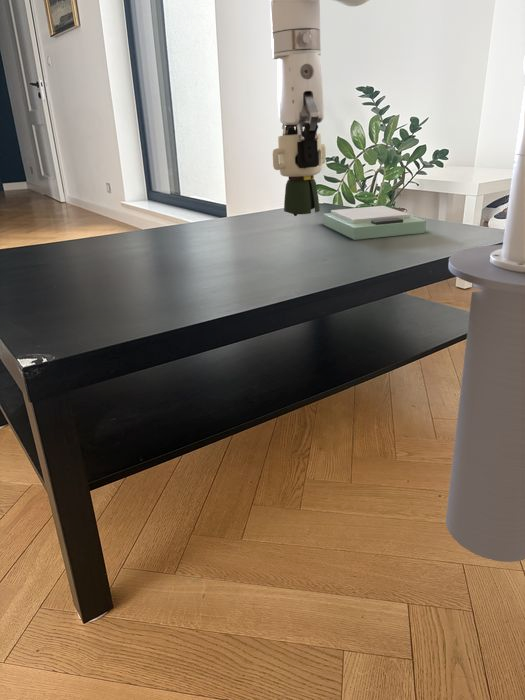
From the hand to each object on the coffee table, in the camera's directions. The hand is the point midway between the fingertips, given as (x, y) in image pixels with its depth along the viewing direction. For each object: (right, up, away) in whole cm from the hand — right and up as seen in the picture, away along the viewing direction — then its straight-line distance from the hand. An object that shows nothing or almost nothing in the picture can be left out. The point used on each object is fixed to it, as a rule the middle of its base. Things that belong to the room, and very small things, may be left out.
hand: (300, 165), depth 92 cm
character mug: (+1, -8, +3) cm, 9 cm away
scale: (+18, -4, +29) cm, 34 cm away
